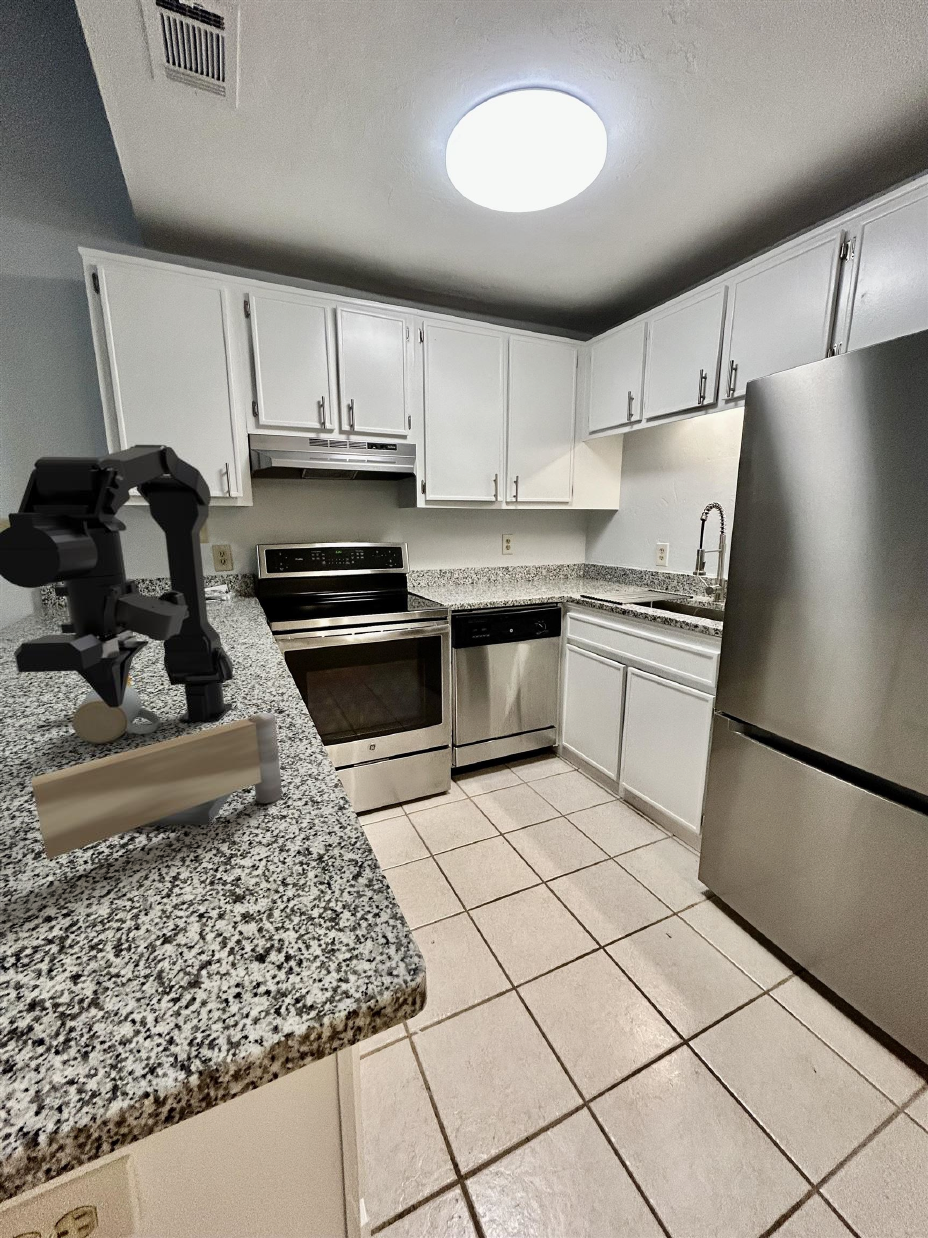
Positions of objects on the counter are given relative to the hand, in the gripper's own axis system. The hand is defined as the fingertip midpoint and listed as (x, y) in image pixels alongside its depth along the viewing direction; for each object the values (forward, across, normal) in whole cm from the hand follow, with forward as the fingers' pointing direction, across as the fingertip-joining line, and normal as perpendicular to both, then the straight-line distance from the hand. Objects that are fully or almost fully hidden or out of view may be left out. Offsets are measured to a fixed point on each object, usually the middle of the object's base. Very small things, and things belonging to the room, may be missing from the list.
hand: (115, 706), depth 60 cm
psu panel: (+12, 0, -4) cm, 13 cm away
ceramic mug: (+12, +20, +12) cm, 26 cm away
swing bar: (+12, -7, -9) cm, 17 cm away
